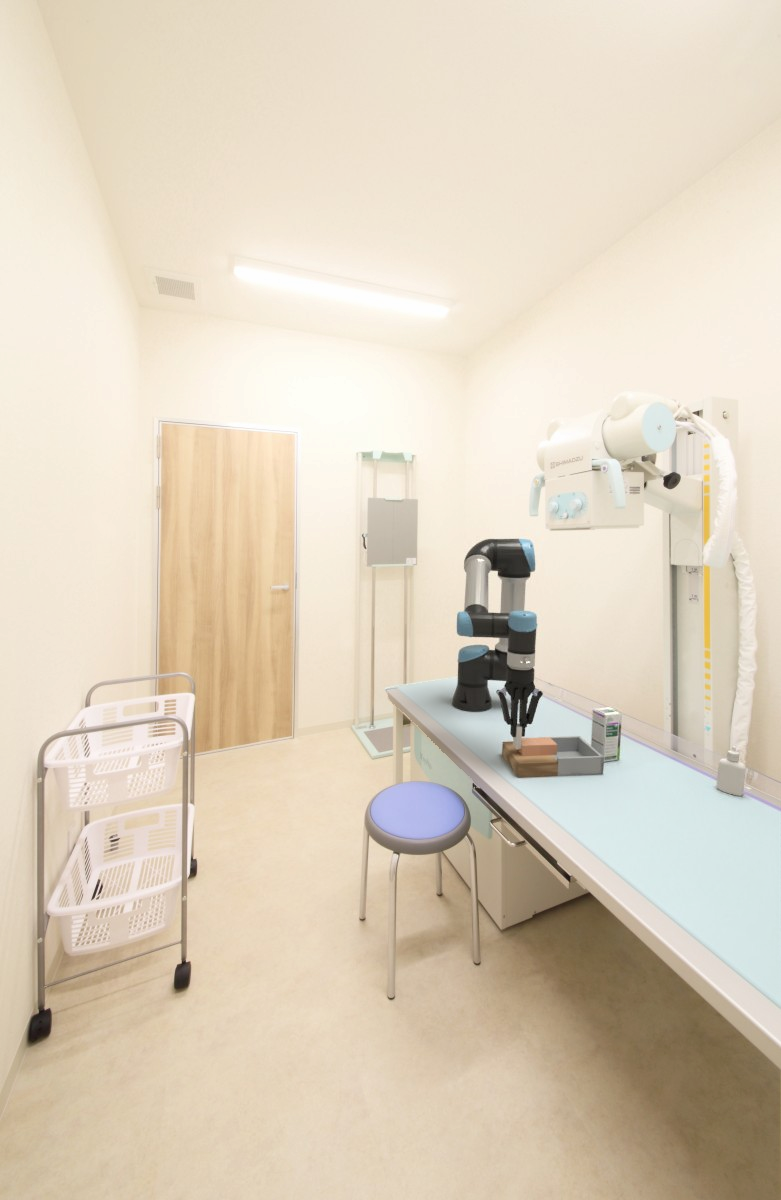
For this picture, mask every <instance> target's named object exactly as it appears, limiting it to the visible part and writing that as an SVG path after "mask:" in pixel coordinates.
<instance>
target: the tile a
mask: <svg viewBox="0 0 781 1200" xmlns="http://www.w3.org/2000/svg"><path fill="white" fill-rule="evenodd" d="M534 738H535V737H522V742H521V749H517V750H518V751H519V752H520V753H521V755H522V756H533V755H540V744H539V743H538V742H537V741H536V740H535V739H534Z"/></svg>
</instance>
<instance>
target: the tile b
mask: <svg viewBox="0 0 781 1200" xmlns="http://www.w3.org/2000/svg"><path fill="white" fill-rule="evenodd" d="M540 737H541V736H540ZM550 737H551V736H545V737H543V736H542V737H541V738H538V737H533V738H534V739H535V740H536V741H537V742H538V743H539V744H540V755H557V744H556V743H555V742H554V741H553V740H552V739H551V738H550Z"/></svg>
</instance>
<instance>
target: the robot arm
mask: <svg viewBox="0 0 781 1200" xmlns="http://www.w3.org/2000/svg"><path fill="white" fill-rule="evenodd" d="M463 570H464V572H465V574H466V575H465V587H464V588H465V590H464V593H465V594H464V606H463V607H464V608H463V611H458V612H457V615H456V634H457V635H458V636H460V637H466V638H467V637H468V638H493V639H499V640H498V642H497V643H496V644H495V645H494V649H490V647H489V646H488V645H486V644H470V645H466V646H464V647H461V648H460V649H459V651H458V655H457V656H458V657H457V685H456V688H455V691H454V694H453V697H452V705H453V707H455V708H457V709H459V710H461V711H462V710H463V711H467V712H483V711H487V710H490V709H491V708H492V705H493V704H492V703H493V699H492V696H491V693H490V689H489V686H488V685H489V684H488V682H489V681H499V682H500V681H501V682H505V683H504V685H503V687H502V688H501V689H497V690H496V691H495V692H496V694H497V696H498V697H499V700H500V706H501V710H502V711H501V712H502V715H503V721H504V722H505V723H506V724H507V725H509V726H510V733H509V734H510V736H511V737H512V741H513V746H514V747H515V748H516V749H521V742H522V738H525V736H526V728H527V727H528V725H532V724H533V721H534V718H535V714H536V711H537V708H538V705H539V702H540V700H541V697H542V696H543V694H544V692H543V691H542V690H541V689H539V688H536V685H535V668H534V667H535V665H536V664H535V663H536V644H537V643H536V641H537V638H536V637H537V629H538V622H537V621H538V620H537V618H538V617H537V614H536V613H535V612H534V611H530V610H525V605H526V604H525V603H526V587H527V586H526V583H527V580H529V579H530V578H531V574H532V573H533V572H535V571H536V556H535V549H534V543H533V542H532V541H531V540H530V539H525V538H485V539H484V540H481V541H479V542H477V543H476V544H475V545H473V546H472V547H471V548H470V549H469V551H467V554H466V555H465V557H464V561H463ZM490 572H497V577H498V578H499V579H500V581H501V591H500V592H501V593H500V612H490V611H489V574H490ZM507 694H508V695H509V698H510V710H509V705H508V700H507V698H506V697H507ZM530 696H531V698H530V701H529V697H530ZM528 703H529V705H528ZM518 713H519V714H518ZM518 716H519V717H518Z"/></svg>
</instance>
